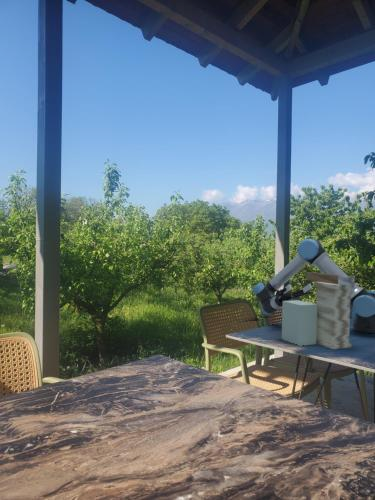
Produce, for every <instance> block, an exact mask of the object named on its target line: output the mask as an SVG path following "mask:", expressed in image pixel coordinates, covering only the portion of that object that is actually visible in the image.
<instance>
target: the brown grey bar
mask: <svg viewBox="0 0 375 500" xmlns="http://www.w3.org/2000/svg"><path fill="white" fill-rule="evenodd" d="M355 278H356V277H355V276H350V275H349V276H348V275H347V276H342V275H333V274H324V273H322V272H314V271H312V272H311V271H309V272H306V281H311V282H325V283H332V284H339V285H346V286H354V283H355V281H356V280H355Z"/></svg>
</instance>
